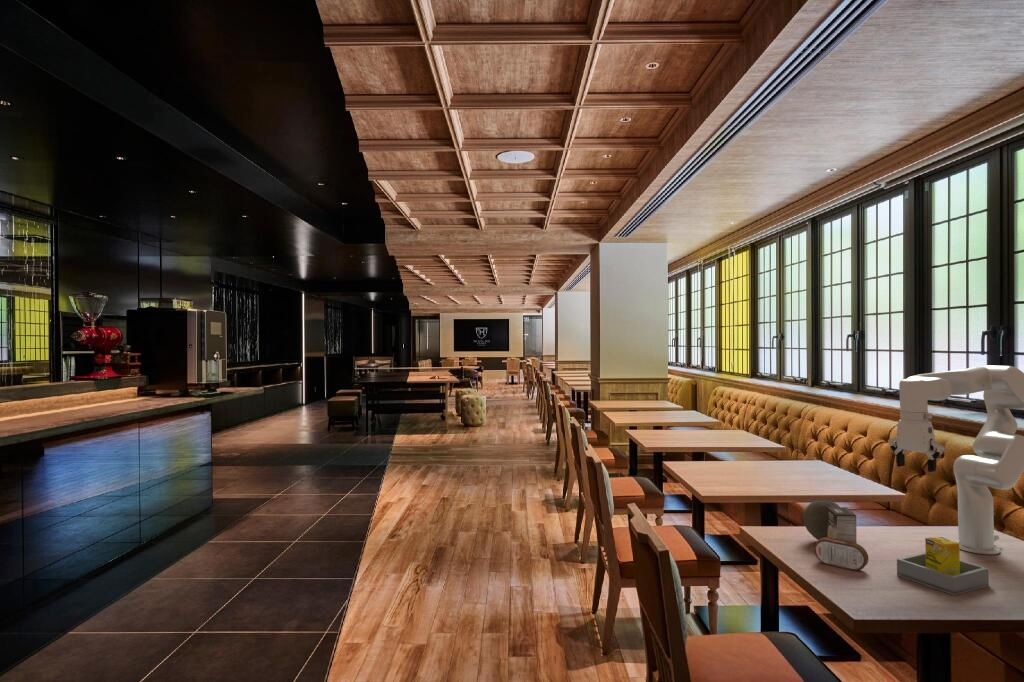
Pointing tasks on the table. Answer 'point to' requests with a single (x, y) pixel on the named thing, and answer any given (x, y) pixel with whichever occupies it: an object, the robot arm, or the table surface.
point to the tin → (841, 553)
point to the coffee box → (841, 524)
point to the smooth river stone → (817, 518)
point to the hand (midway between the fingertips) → (916, 468)
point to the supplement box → (942, 555)
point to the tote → (943, 575)
